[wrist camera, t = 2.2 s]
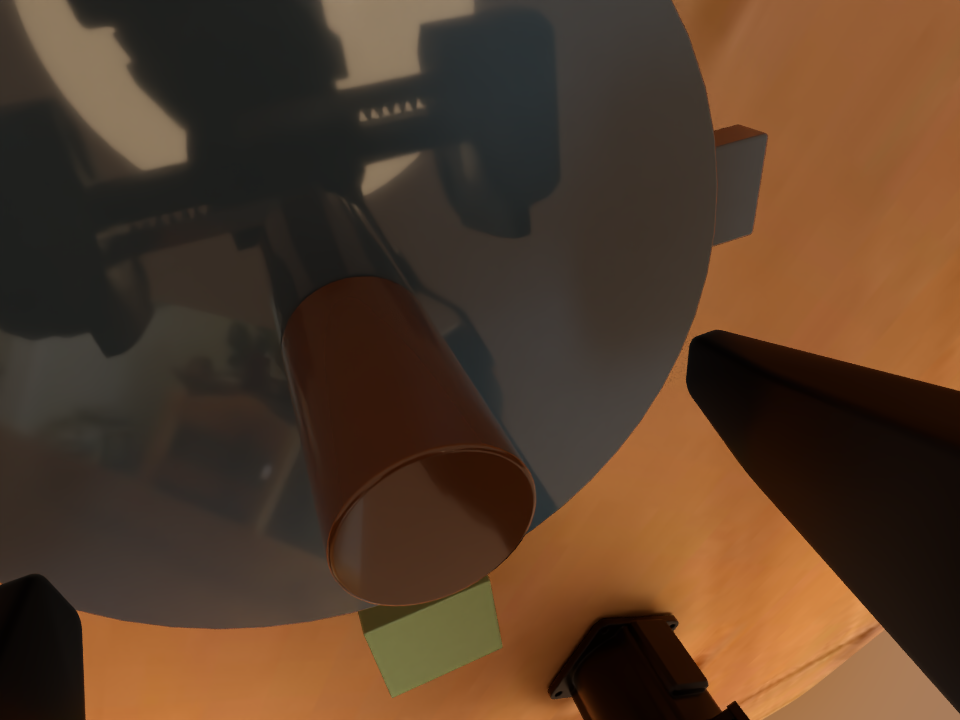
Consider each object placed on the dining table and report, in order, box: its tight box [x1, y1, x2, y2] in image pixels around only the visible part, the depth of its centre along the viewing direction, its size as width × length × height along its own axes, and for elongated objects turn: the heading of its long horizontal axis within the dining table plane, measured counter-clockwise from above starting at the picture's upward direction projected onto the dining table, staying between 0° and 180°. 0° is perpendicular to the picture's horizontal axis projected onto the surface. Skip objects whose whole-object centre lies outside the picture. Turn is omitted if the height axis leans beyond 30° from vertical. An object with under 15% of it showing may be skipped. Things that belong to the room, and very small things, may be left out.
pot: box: [712, 125, 768, 247], centre depth 14 cm, size 14×19×6 cm
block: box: [358, 575, 502, 698], centre depth 23 cm, size 4×4×4 cm
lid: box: [0, 0, 718, 629], centre depth 9 cm, size 15×15×6 cm
